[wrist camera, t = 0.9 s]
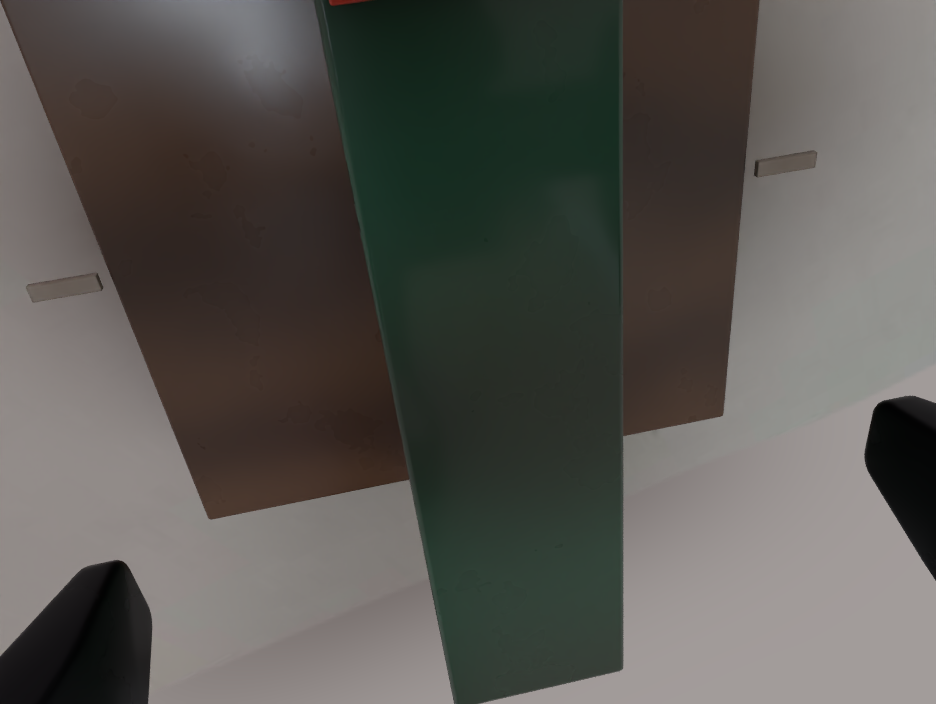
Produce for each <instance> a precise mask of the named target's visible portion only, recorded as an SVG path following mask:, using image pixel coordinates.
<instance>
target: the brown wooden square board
mask: <svg viewBox="0 0 936 704" xmlns="http://www.w3.org/2000/svg"><path fill="white" fill-rule="evenodd" d="M0 1H1V3H2V6H3V8H4V11H5V13H6V16H7V18H8V21H9V23H10V26H11V28H12V31H13V33H14V36H15V38H16V41H17V43H18V46H19V48H20V51H21V53H22V56H23V58H24V61H25V63H26V66H27V68H28V71H29V73H30V76H31V78H32V81H33V83H34V86H35V88H36V91H37V93H38V96H39V98H40V101H41V103H42V105H43V108H44V110H45V113H46V115H47V118H48V120H49V123H50V125H51V128H52V130H53V133H54V135H55V138H56V140H57V143H58V145H59V148H60V150H61V153H62V155H63V158H64V160H65V163H66V165H67V168H68V170H69V173H70V175H71V178H72V180H73V183H74V185H75V188H76V190H77V193H78V195H79V198H80V200H81V203H82V205H83V207H84V210H85V212H86V215H87V217H88V220H89V222H90V225H91V227H92V230H93V232H94V235H95V237H96V240H97V242H98V245H99V247H100V250H101V252H102V255H103V257H104V260H105V262H106V265H107V267H108V270H109V272H110V275H111V277H112V280H113V282H114V285H115V287H116V290H117V292H118V295H119V297H120V300H121V302H122V305H123V307H124V309H125V312H126V314H127V317H128V319H129V322H130V324H131V327H132V329H133V332H134V334H135V337H136V339H137V342H138V344H139V347H140V349H141V352H142V354H143V357H144V359H145V362H146V364H147V367H148V369H149V372H150V374H151V377H152V379H153V382H154V384H155V387H156V389H157V392H158V394H159V397H160V399H161V402H162V404H163V407H164V409H165V411H166V414H167V416H168V419H169V421H170V424H171V426H172V429H173V431H174V434H175V436H176V439H177V441H178V444H179V446H180V449H181V451H182V454H183V456H184V459H185V461H186V464H187V466H188V469H189V471H190V474H191V476H192V479H193V481H194V484H195V486H196V489H197V491H198V494H199V496H200V499H201V501H202V504H203V506H204V508H205V511H206V513H207V516H208V518H209V519H216V518H221V517H226V516H231V515H236V514H241V513H246V512H251V511H256V510H261V509H266V508H271V507H276V506H280V505H285V504H290V503H295V502H300V501H305V500H310V499H315V498H320V497H325V496H330V495H335V494H340V493H345V492H350V491H355V490H360V489H364V488H369V487H374V486H379V485H384V484H389V483H394V482H399V481H404V480H409V475H408V470H407V465H406V460H405V455H404V450H403V445H402V440H401V435H400V430H399V425H398V420H397V415H396V410H395V405H394V400H393V395H392V390H391V385H390V380H389V375H388V370H387V365H386V360H385V355H384V350H383V345H382V340H381V335H380V330H379V325H378V320H377V315H376V310H375V305H374V300H373V295H372V290H371V285H370V280H369V275H368V270H367V265H366V260H365V255H364V250H363V245H362V240H361V235H360V230H359V225H358V220H357V215H356V210H355V205H354V200H353V195H352V190H351V185H350V180H349V175H348V170H347V165H346V160H345V155H344V150H343V145H342V140H341V135H340V130H339V125H338V120H337V115H336V110H335V105H334V100H333V95H332V90H331V85H330V80H329V75H328V70H327V65H326V60H325V55H324V50H323V45H322V40H321V35H320V30H319V25H318V20H317V15H316V10H315V5H314V0H0ZM758 11H759V0H623V436H626V435H631V434H636V433H641V432H646V431H651V430H656V429H661V428H666V427H671V426H676V425H681V424H686V423H691V422H696V421H701V420H705V419H710V418H715V417H720V416H723V411H724V400H725V388H726V377H727V366H728V354H729V343H730V331H731V320H732V308H733V297H734V285H735V274H736V262H737V251H738V240H739V228H740V217H741V205H742V194H743V182H744V171H745V159H746V148H747V137H748V125H749V114H750V102H751V91H752V79H753V68H754V56H755V45H756V33H757V22H758ZM816 158H817V152H816V151H814V150H813V151H807V152H801V153H795V154H789V155H784V156H778V157H772V158H766V159H760V160H756V161H755V171H754V176H756V177H762V176H768V175H774V174H780V173H785V172H791V171H797V170H803V169H809V168H814V167H815V165H816ZM26 289H27V291H28V294H29V296H30V298H31V300H32V302H39V301H45V300H51V299H56V298H62V297H68V296H74V295H80V294H85V293H91V292H97V291H102V289H103V285H102V283H101V280H100V278H99V275H98V273H92V274H86V275H80V276H74V277H69V278H63V279H57V280H51V281H45V282H39V283H33V284H28V285H27V286H26Z"/></svg>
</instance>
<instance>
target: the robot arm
mask: <svg viewBox="0 0 936 704" xmlns="http://www.w3.org/2000/svg"><path fill="white" fill-rule="evenodd" d="M864 455H865V463H866V467H867V470H868V472H869V474H870V476H871V477H872V479H873V481H874V482H875V484H876V486H877V487H878V489H879V490H880V492H881V494H882V495H883V496H884V499H885V500H886V502H887V503H888V505H889V507H890V508H891V510H892V512H893V513H894V515H895V516H896V518H897V520H898V521H899V523H900V525H901V526H902V528H903V530H904V531H905V533H906V534H907V536H908V538H909V539H910V541H911V542H912V544H913V546H914V547H915V549H916V551H917V552H918V554H919V556H920V557H921V559H922V560H923V562H924V564H925V565H926V567H927V568H928V570H929V571H930V573H931V574H932V575H933V577H934V579H935V580H936V403H933V402H931V401H928V400H925V399H922V398H919V397H916V396H904V397H899V398H894V399H889V400H884V401H882V402H880V403H878V404H877V406H876V407H875V409H874V411H873V415H872V420H871V424H870V429H869V434H868V438H867V443H866V448H865V454H864ZM151 642H152V618H151V613H150V609H149V607H148V604H147V602H146V600H145V598H144V596H143V594H142V593H141V591H140V589H139V587H138V585H137V583H136V581H135V579H134V577H133V575H132V573H131V571H130V569H129V567H128V566H127V565H126V564H125V563H124V562H123V561H119V560H114V561H109V562H105V563H100V564H95V565H90V566H87V567H85V568H83V569H81V570H80V571H79V572H78V573H77V574H76V575H75V576H74V577H73V578H72V579H71V581H70V582H69V583H68V584H67V585H66V586H65V587H64V588H63V589H62V590H61V591H60V592H59V594H58V595H57V596H56V597H55V598H54V599H53V600H52V601H51V602H50V603H49V604H48V605H47V606H46V608H45V609H44V610H43V611H42V612H41V613H40V614H39V615H38V616H37V617H36V618H35V619H34V621H33V622H32V623H31V624H30V625H29V626H28V627H27V628H26V629H25V630H24V631H23V632H22V633H21V635H20V636H19V637H18V638H17V639H16V640H15V641H14V642H13V643H12V644H11V645H10V646H9V648H8V649H7V650H6V651H5V652H4V653H3V654H2V655H1V656H0V704H148V695H149V677H150V660H151Z"/></svg>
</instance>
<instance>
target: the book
mask: <svg viewBox="0 0 936 704" xmlns="http://www.w3.org/2000/svg"><path fill="white" fill-rule="evenodd" d="M314 5H315V10H316V15H317V20H318V25H319V30H320V35H321V40H322V45H323V50H324V55H325V60H326V65H327V70H328V75H329V80H330V85H331V90H332V95H333V100H334V105H335V110H336V115H337V120H338V125H339V130H340V135H341V140H342V145H343V150H344V155H345V160H346V165H347V170H348V175H349V180H350V185H351V190H352V195H353V200H354V205H355V210H356V215H357V220H358V225H359V230H360V235H361V240H362V245H363V250H364V255H365V260H366V265H367V270H368V275H369V280H370V285H371V290H372V295H373V300H374V305H375V310H376V315H377V320H378V325H379V330H380V335H381V340H382V345H383V350H384V355H385V360H386V365H387V370H388V375H389V380H390V385H391V390H392V395H393V400H394V405H395V410H396V415H397V420H398V425H399V430H400V435H401V440H402V445H403V450H404V455H405V460H406V465H407V470H408V475H409V480H410V485H411V490H412V495H413V500H414V505H415V510H416V515H417V520H418V525H419V530H420V535H421V540H422V545H423V550H424V555H425V560H426V565H427V570H428V575H429V580H430V585H431V590H432V595H433V600H434V605H435V609H436V615H437V619H438V625H439V630H440V634H441V639H442V645H443V650H444V655H445V660H446V665H447V670H448V675H449V680H450V684H451V689H452V694H453V700H454V704H480V703H484V702H488V701H493V700H497V699H501V698H506V697H510V696H514V695H518V694H523V693H527V692H532V691H536V690H540V689H544V688H548V687H553V686H557V685H562V684H566V683H570V682H575V681H579V680H583V679H588V678H592V677H596V676H601V675H605V674H609V673H613V672H618V671H620V670H622V669H623V0H314Z"/></svg>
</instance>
